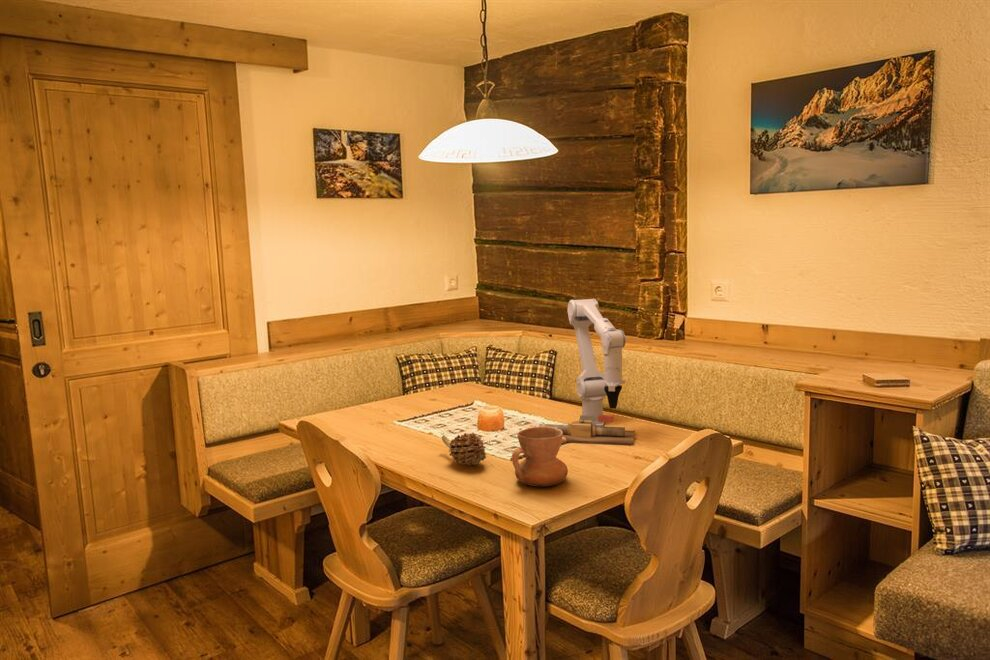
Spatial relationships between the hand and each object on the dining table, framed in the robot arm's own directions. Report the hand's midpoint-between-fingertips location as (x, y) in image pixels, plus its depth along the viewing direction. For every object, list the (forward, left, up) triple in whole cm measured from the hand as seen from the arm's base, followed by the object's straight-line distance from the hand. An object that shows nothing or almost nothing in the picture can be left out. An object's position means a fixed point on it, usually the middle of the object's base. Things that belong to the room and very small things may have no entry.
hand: (613, 407), depth 244 cm
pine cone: (+34, -43, -10) cm, 56 cm away
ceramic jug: (+47, -17, -10) cm, 51 cm away
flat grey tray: (+3, -10, -9) cm, 14 cm away
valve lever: (+3, -5, -4) cm, 7 cm away
